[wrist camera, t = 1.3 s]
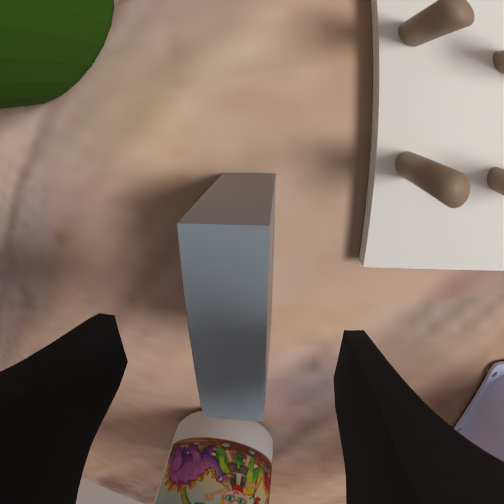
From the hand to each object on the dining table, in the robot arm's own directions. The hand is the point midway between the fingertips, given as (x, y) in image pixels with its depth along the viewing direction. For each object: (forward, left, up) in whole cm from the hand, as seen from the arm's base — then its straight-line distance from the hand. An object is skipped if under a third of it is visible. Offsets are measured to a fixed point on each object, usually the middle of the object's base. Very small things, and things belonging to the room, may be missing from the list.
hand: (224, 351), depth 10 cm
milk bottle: (-16, +2, -7) cm, 18 cm away
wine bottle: (+13, +11, -7) cm, 19 cm away
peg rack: (+8, -16, -7) cm, 19 cm away
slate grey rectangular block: (0, 0, -7) cm, 7 cm away
